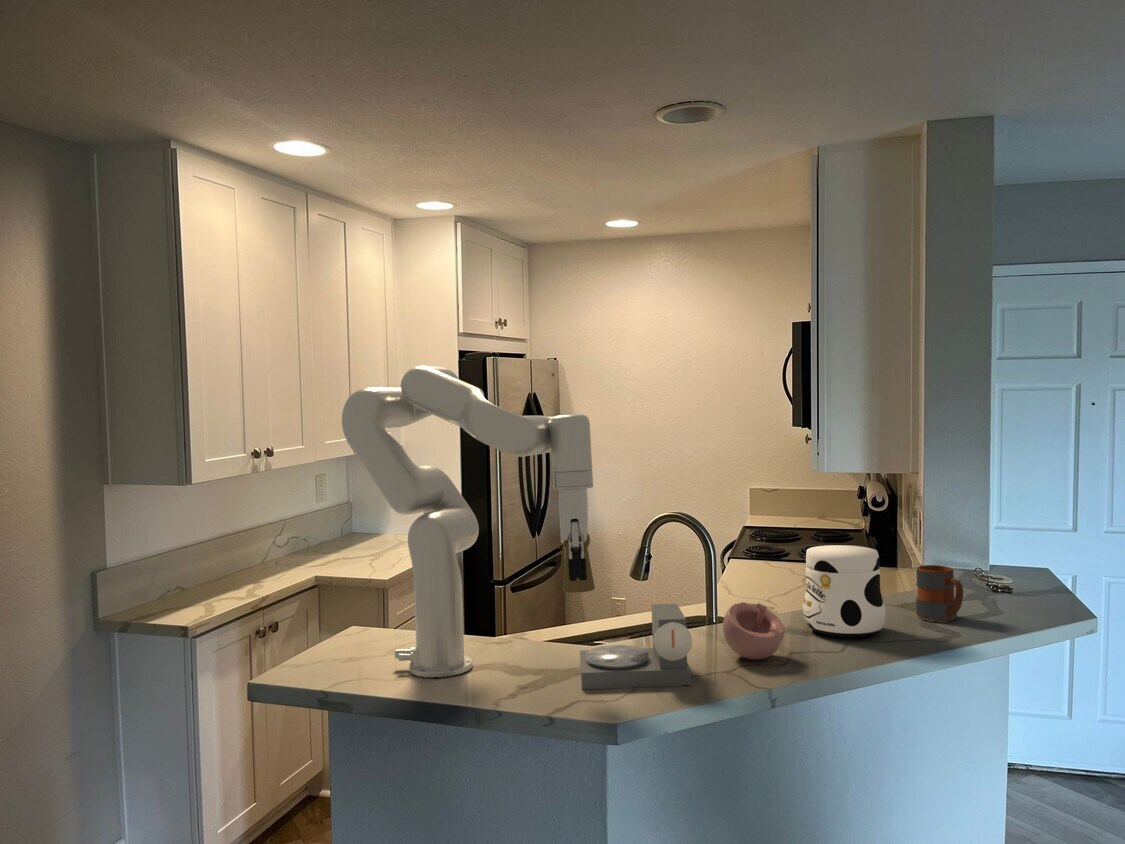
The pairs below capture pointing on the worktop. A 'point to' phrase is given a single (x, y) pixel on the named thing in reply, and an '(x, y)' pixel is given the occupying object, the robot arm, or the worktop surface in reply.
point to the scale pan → (617, 657)
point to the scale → (650, 657)
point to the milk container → (843, 591)
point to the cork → (578, 584)
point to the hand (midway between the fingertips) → (578, 576)
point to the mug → (938, 593)
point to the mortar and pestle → (752, 630)
